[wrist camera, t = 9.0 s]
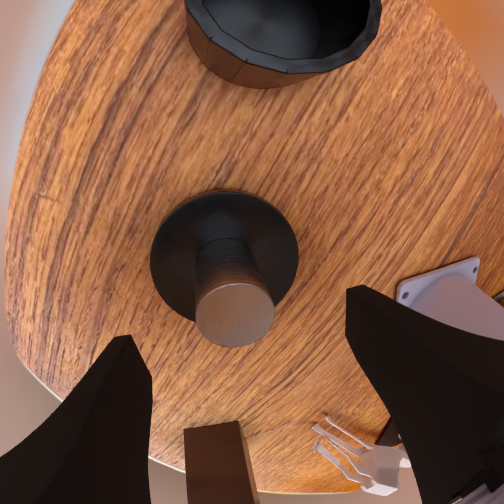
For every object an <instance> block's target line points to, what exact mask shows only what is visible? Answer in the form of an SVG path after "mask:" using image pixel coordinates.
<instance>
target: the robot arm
mask: <svg viewBox="0 0 504 504" xmlns="http://www.w3.org/2000/svg"><path fill="white" fill-rule="evenodd" d="M479 264H480V259H479V258H478V257H476V256H474V257H471V258H468V259H466V260H463V261H460V262H457V263H454V264H451V265H448V266H445V267H443V268H440V269H437V270H434V271H431V272H428V273H424V274H421V275H418V276H415V277H412V278H409V279H406V280H403V281H401V282H400V283H399V285H398V288H397V295H396V301H395V300H393V299H391V298H389V297H387V296H385V295H383V294H381V293H380V292H378V291H376V290H374V289H372V288H369V287H367V286H365V285H359V286H355V287H351V288H348V289H346V327H345V336H346V338H347V340H348V343H349V345H350V347H351V349H352V352H353V354H354V356H355V358H356V360H357V361H358V363H359V365H360V366H361V368H362V369H363V371H364V373H365V374H366V376H367V377H368V379H369V380H370V382H371V384H372V385H373V387H374V388H375V390H376V392H377V393H378V395H379V396H380V398H381V400H382V401H383V403H384V404H385V406H386V408H387V410H388V412H389V413H390V415H391V417H392V420H393V422H394V424H395V426H396V428H397V431H398V433H399V435H400V438H401V440H402V442H403V445H404V447H405V450H406V453H407V455H408V458H409V461H410V463H411V466H412V469H413V472H414V475H415V478H416V482H417V485H418V489H419V492H420V496H421V500H422V504H452V503H454V502H456V501H457V500H459V499H460V498H462V499H461V500H460V501H458V502H457V503H455V504H504V308H503V307H502V306H501V305H500V304H498V303H497V302H496V301H495V300H494V299H492V298H491V297H490V296H489V295H487V294H486V293H485V292H484V291H482V290H481V289H480V288H479V287H477V286H476V285H475V282H476V278H477V273H478V269H479ZM404 293H405V294H404ZM403 294H404V295H403ZM152 404H153V397H152V376H151V374H150V372H149V370H148V368H147V366H146V364H145V362H144V361H143V359H142V357H141V355H140V353H139V351H138V349H137V346H136V344H135V342H134V340H133V338H132V336H131V334H130V335H124V336H117V337H114V338H113V339H112V340H111V341H110V343H109V344H108V345H107V346H106V348H105V349H104V350H103V352H102V353H101V354H100V355H99V357H98V358H97V359H96V361H95V362H94V363H93V365H92V366H91V367H90V369H89V370H88V371H87V373H86V374H85V375H84V376H83V378H82V379H81V380H80V382H79V383H78V384H77V385H76V386H75V388H74V389H73V390H72V391H71V393H70V394H69V395H68V396H67V397H66V399H65V400H64V401H63V402H62V403H61V404H60V406H59V407H58V408H57V409H56V410H55V411H54V412H53V413H52V414H51V415H50V416H49V417H48V418H47V419H46V420H45V421H44V422H43V423H42V424H41V425H40V426H39V427H38V428H37V429H36V430H34V431H33V432H32V433H31V434H30V435H29V436H28V437H27V438H25V439H24V440H23V441H22V442H21V443H19V444H18V445H17V446H15V447H14V448H13V449H11V450H10V451H9V452H7V453H6V454H4V455H3V456H1V457H0V504H151V498H150V490H149V478H148V450H149V438H150V426H151V415H152Z"/></svg>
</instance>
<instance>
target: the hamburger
mask: <svg viewBox="0 0 504 504" xmlns="http://www.w3.org/2000/svg"><path fill="white" fill-rule="evenodd" d="M401 443H403V442H402V440H401V438H400V435H399V433H398V431H397V428H396V426H395V424H394V422H393V420H392V417H390V419H389V420H388V422H387V424H386V426H385V427H384V429H383V431H382V432H381V434H380V436H379V437H378V439H377V441H376V442H375V444H376V445H378V446H388V447H393V446H396V445H398V444H401Z"/></svg>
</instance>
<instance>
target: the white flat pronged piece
mask: <svg viewBox="0 0 504 504" xmlns="http://www.w3.org/2000/svg"><path fill="white" fill-rule="evenodd" d="M325 420H326V421H328V422H329V423H330V424H332V425H333V426H335V427H336V428H338V429H339V430H341V431H342V432H344V433H345V434H347V435H349V436H350V437H352V438H353V439H355V440H356V441H358V442H359V443H361V444H362V445H364V446H365V447H360V448H356V447H354V446H352V445H350V444H348V443H346V442H344V441H342V440H340V439H338V438H337V437H335V436H333V435H331V434H330V433H328V432H326V431H325V430H323V429H321V428H320V425H319V423H317V424H316V425H314V426H313V427H312V429H313V430H315V431H317V432H318V433H320V434H321V435H323V436H324V439H325V440H326V439H327V441H328V444H329V443H331V444H332V445H333V446H334V447H335V448H337V449H338V450H339V451H340V452H341V453H342V454H344V455H345V456H346V457H347V458H348V459H349V461H350V463H351V464H352V465H353V466H354V468H355V469H356V471H357V472H358V473H360V474H362V475H359V474H354V473H351V472H349V471H348V470H347V469H345V468H344V467H343V466H342V465H341V462H340V461H339V460H338V459H337V458H336V457H335V456H333V455H332V454H331V453H330V452H329V451H328V450H326V449H325V448H324V447H323V446H322V445H321V442H322V440H321V441H320V443H319V440H318V439H317V440H316V441H315V443H314V444H313V446H312V447H311V448H312V449H315V451H314V452H313V453H315V452H316V450H318V451H319V452H320V453H321V454H322V455H323V456H325V457H326V458H327V459H328V460H329V461H331V462H332V463H333V464H334V465H335V466H336V467H337V468H340V470H341V471H342V472H343V473H344V475H345V476H346V478H347V479H349V480H352V481H355V482H358V483H360V485H361V486H360V487H361V488H362V490H363V491H365V492H369V493H373V494H378V495H382V496H387V495H389V494H391V493H392V492H394V491H396V490H398V489H399V488H398V471H399V467H407V468H410V467H411V463H410V461H409V458H408V455H407V453H406V450H405V447H404V445H403V444H402V445H401V446H398V447H399V449H398V448H395V447H388V446H378V445H376V444H373V443H371V442H367V443H366V442H364V441H363V440H361V439H359V438H357V437H356V436H354V435H352V434H351V433H349V432H348V431H346V430H345V429H343V428H342V427H340V426H339V425H337V424H336V423H334V422H333V421H331V418H330V416H327V417H326V418H325ZM332 441H333V442H334V443H336V444H338V445H339V446H341V447H343V448H344V449H346V450H347V451H348V452H350V453H351V454H353V455H354V456H356V457H360V465H361V466H360V465H359V464H357V463H356V462H355V461H354V460H353V459H352V458H351V457H349V456H348V455H347V454H346V453H345V452H343V451H342V450H341V449H340V448H339V447H338V446H336V445H335V444H334V443H333V442H332ZM367 448H368V449H369V451H368V450H367Z"/></svg>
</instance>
